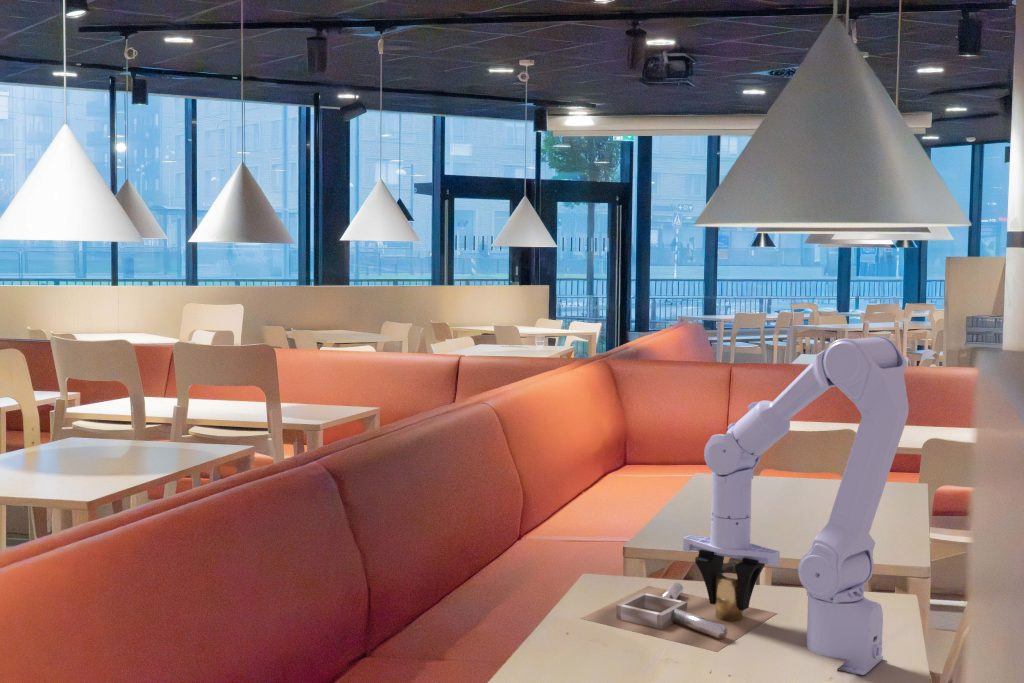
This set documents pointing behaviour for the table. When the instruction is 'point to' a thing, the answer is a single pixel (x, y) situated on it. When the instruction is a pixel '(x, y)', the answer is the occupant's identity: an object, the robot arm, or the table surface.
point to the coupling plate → (654, 619)
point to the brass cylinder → (727, 598)
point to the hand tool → (730, 566)
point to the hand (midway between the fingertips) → (729, 605)
